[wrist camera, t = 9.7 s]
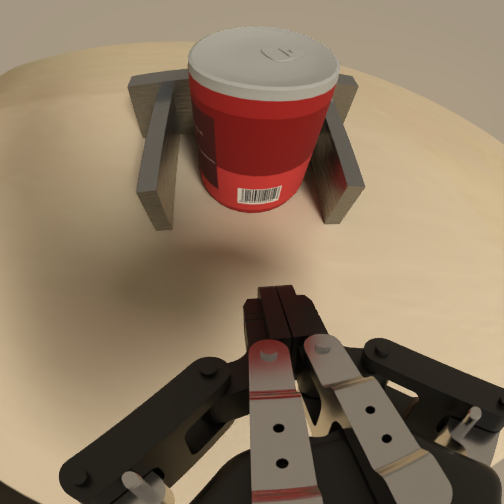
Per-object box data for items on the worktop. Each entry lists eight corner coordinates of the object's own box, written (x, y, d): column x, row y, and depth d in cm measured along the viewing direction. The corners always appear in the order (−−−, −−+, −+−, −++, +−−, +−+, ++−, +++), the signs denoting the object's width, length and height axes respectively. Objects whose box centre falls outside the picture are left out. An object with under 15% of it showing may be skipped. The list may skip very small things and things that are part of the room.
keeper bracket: (365, 223, 21) (402, 180, 15) (126, 232, 19) (94, 186, 14) (334, 123, 25) (352, 76, 19) (145, 126, 23) (131, 76, 18)
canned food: (319, 175, 22) (365, 63, 12) (253, 238, 20) (273, 114, 9) (251, 126, 24) (261, 17, 14) (181, 176, 21) (157, 54, 11)
